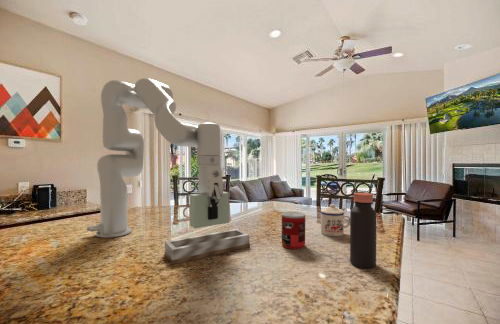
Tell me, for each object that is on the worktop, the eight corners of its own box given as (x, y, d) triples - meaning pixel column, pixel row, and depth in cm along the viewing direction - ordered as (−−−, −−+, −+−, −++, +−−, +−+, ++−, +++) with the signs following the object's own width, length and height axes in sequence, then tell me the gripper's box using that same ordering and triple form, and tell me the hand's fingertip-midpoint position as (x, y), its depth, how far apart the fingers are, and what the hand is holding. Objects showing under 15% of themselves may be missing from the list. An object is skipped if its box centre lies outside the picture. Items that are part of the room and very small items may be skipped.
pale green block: (194, 228, 76) (194, 195, 76) (190, 225, 80) (189, 194, 80) (229, 222, 83) (228, 192, 83) (223, 220, 86) (223, 191, 86)
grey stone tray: (173, 264, 71) (173, 250, 70) (164, 253, 78) (164, 241, 78) (249, 246, 85) (250, 234, 85) (236, 239, 93) (236, 228, 93)
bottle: (374, 271, 66) (375, 196, 66) (347, 265, 70) (348, 194, 70) (377, 262, 72) (377, 193, 72) (352, 257, 76) (352, 191, 75)
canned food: (279, 242, 89) (279, 211, 89) (301, 241, 90) (301, 211, 90) (284, 250, 82) (284, 216, 82) (308, 249, 82) (308, 216, 82)
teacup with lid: (323, 236, 96) (323, 206, 95) (317, 230, 105) (318, 202, 105) (355, 237, 95) (355, 206, 95) (346, 230, 104) (347, 202, 104)
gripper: (231, 161, 76) (232, 221, 76) (209, 161, 90) (209, 212, 90) (209, 161, 72) (209, 224, 72) (189, 161, 86) (189, 214, 86)
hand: (209, 217), depth 81 cm, fingers closed on pale green block, 4 cm apart
